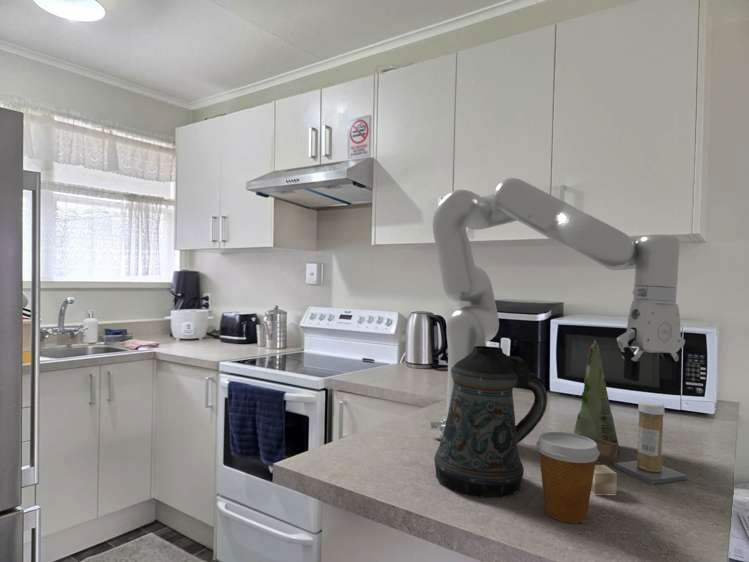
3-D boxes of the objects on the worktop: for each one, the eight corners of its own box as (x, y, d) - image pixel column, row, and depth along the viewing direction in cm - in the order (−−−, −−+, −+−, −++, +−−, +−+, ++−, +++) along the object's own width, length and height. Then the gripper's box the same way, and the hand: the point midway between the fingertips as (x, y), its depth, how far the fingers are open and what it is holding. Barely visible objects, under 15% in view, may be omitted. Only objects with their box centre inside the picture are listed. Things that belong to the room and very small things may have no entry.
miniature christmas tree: (591, 457, 105) (595, 343, 106) (556, 440, 117) (559, 337, 117) (632, 454, 108) (636, 343, 109) (594, 437, 120) (597, 337, 120)
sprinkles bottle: (666, 470, 97) (668, 404, 97) (654, 475, 94) (657, 406, 94) (643, 463, 100) (645, 398, 100) (631, 467, 98) (634, 401, 98)
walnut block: (608, 466, 100) (609, 447, 101) (589, 460, 104) (590, 442, 104) (616, 462, 103) (617, 443, 103) (598, 456, 106) (598, 438, 106)
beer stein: (418, 469, 95) (422, 342, 95) (497, 458, 103) (501, 341, 103) (466, 505, 80) (471, 354, 80) (555, 489, 87) (560, 352, 88)
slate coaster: (652, 484, 91) (652, 480, 91) (614, 467, 100) (614, 463, 100) (686, 479, 94) (686, 475, 94) (647, 463, 103) (647, 459, 103)
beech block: (594, 495, 86) (595, 473, 86) (583, 486, 89) (583, 464, 90) (616, 495, 86) (616, 473, 86) (603, 486, 90) (604, 465, 90)
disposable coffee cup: (576, 535, 71) (578, 454, 71) (522, 509, 79) (524, 436, 79) (609, 518, 77) (611, 443, 77) (556, 496, 84) (558, 428, 84)
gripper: (638, 294, 91) (632, 384, 91) (702, 298, 97) (697, 383, 97) (606, 292, 98) (601, 376, 98) (668, 296, 104) (663, 375, 104)
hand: (649, 379), depth 98 cm, fingers open, 9 cm apart
